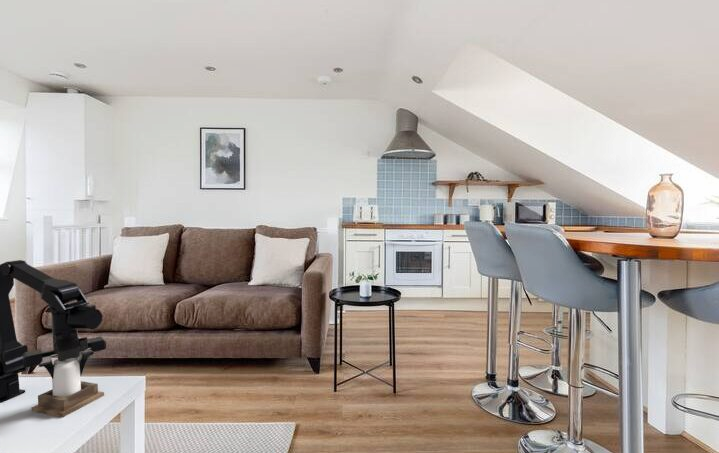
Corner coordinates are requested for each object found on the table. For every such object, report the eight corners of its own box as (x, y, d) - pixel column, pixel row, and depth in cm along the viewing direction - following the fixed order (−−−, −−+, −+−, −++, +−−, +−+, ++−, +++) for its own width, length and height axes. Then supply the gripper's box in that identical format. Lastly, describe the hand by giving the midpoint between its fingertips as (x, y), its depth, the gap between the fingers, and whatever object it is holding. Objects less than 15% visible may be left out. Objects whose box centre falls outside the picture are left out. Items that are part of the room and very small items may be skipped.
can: (65, 406, 105) (63, 365, 104) (47, 403, 106) (45, 362, 106) (86, 395, 111) (85, 356, 111) (69, 393, 113) (68, 354, 112)
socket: (31, 410, 105) (30, 397, 105) (74, 390, 116) (74, 378, 116) (63, 417, 101) (62, 402, 101) (104, 395, 113) (103, 382, 113)
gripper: (22, 342, 95) (26, 401, 96) (108, 326, 108) (111, 378, 109) (21, 332, 103) (24, 387, 104) (101, 317, 116) (103, 366, 117)
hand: (67, 379), depth 108 cm, fingers closed on can, 5 cm apart
